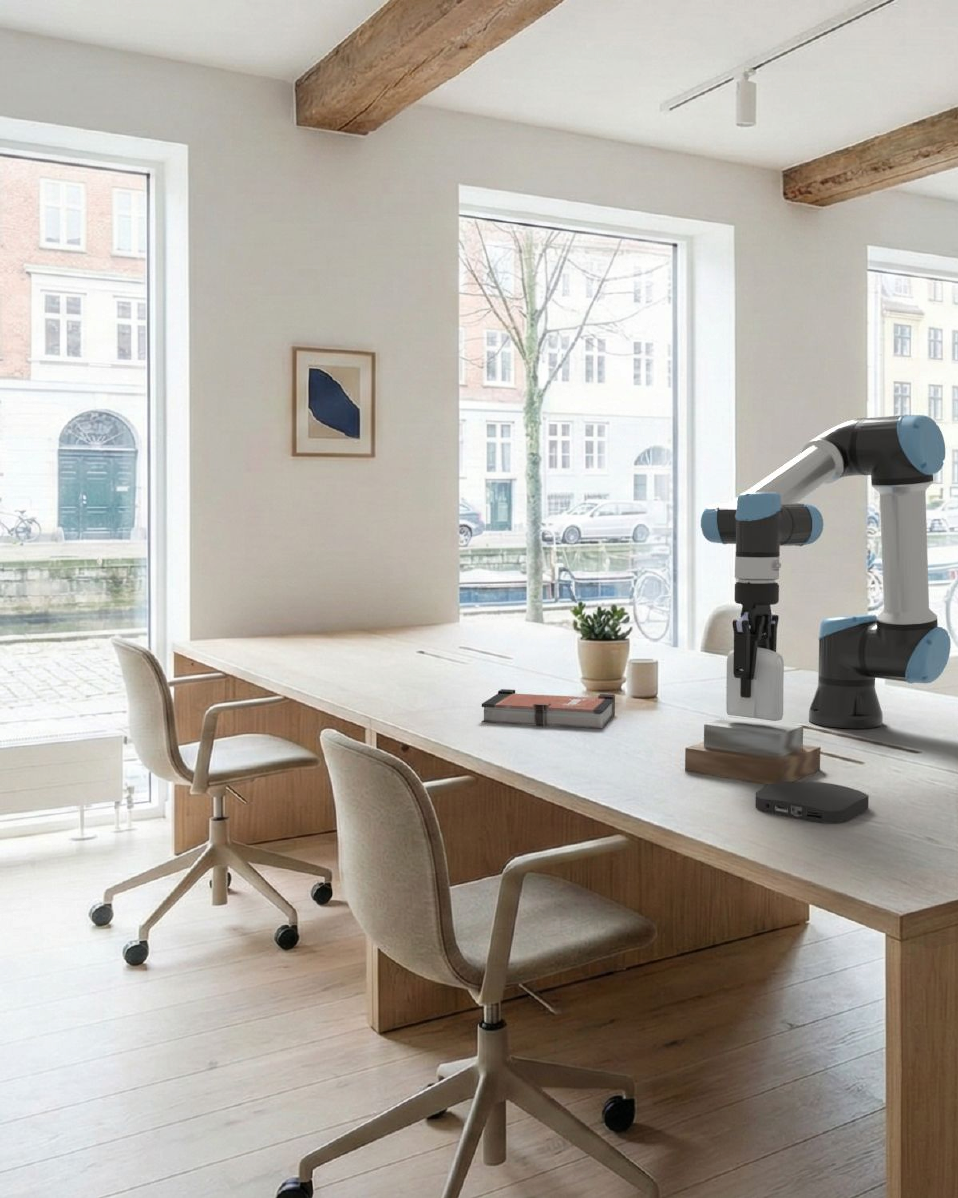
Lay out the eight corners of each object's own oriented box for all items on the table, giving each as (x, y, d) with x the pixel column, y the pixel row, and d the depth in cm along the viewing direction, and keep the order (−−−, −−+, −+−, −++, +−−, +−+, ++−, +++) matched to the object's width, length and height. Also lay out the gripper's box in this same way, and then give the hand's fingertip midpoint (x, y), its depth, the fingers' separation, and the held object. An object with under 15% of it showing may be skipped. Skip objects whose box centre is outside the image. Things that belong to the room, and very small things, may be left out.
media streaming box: (876, 808, 172) (877, 789, 172) (837, 829, 161) (838, 809, 161) (788, 792, 182) (788, 774, 182) (745, 811, 171) (746, 792, 171)
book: (480, 725, 238) (480, 702, 238) (501, 710, 255) (501, 689, 255) (601, 732, 231) (601, 708, 231) (614, 716, 248) (615, 694, 248)
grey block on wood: (727, 754, 208) (728, 712, 207) (819, 769, 196) (821, 724, 196) (684, 770, 195) (685, 725, 195) (781, 786, 184) (782, 739, 183)
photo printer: (722, 715, 197) (723, 646, 196) (734, 712, 200) (735, 643, 199) (774, 723, 190) (776, 651, 189) (786, 719, 193) (788, 649, 192)
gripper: (754, 584, 184) (751, 723, 186) (798, 579, 197) (795, 709, 199) (713, 582, 189) (711, 718, 191) (759, 577, 202) (756, 704, 204)
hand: (754, 713), depth 195 cm, fingers closed on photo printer, 4 cm apart
